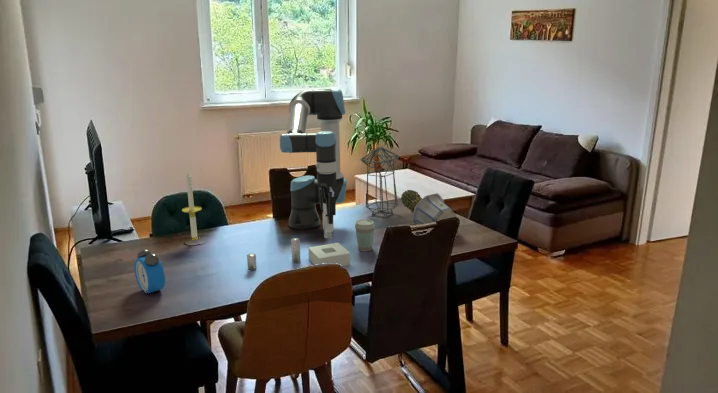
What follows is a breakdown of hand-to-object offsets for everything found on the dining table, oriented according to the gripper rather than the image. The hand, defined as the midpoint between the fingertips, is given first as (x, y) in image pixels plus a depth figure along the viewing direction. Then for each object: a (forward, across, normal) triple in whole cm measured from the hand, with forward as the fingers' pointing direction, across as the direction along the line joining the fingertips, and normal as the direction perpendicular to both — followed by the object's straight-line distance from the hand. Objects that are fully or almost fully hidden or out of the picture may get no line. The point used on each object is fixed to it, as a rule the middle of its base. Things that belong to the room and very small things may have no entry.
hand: (328, 229), depth 223 cm
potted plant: (+14, -20, +56) cm, 61 cm away
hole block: (+14, 0, 0) cm, 14 cm away
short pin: (+14, -6, -30) cm, 34 cm away
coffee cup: (+14, -7, +19) cm, 25 cm away
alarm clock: (+14, -2, -68) cm, 69 cm away
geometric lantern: (+14, -48, +46) cm, 68 cm away
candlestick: (+14, -48, -46) cm, 68 cm away
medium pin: (+14, -6, -12) cm, 19 cm away
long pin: (+3, 0, 0) cm, 3 cm away
